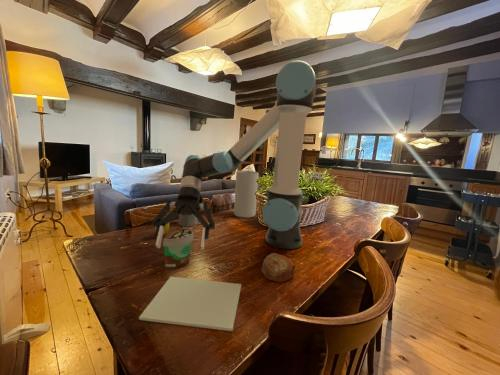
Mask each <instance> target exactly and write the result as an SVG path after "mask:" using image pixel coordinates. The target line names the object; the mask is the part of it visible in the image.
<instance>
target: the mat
mask: <svg viewBox="0 0 500 375" xmlns="http://www.w3.org/2000/svg"><path fill="white" fill-rule="evenodd" d="M241 288H242V283H233V282H225V281H224V282H223V281H214V280H206V279H197V278H187V277H179V276H170V277H169V278H168V279H167V280H166V282H165V283H164V284H163V285H162V287H161V288H160V290H159V291H158V292H157V294H156V295H155V296H154V297H153V298H152V299H151V301H150V302H149V303H148V305H147V306H146V307H145V309H144V310H143V312H142V313H141V314H140V316H138V320H140V321H144V322H145V321H147V322H152V323H153V322H154V323H163V324H171V325H178V326H187V327H195V328H202V329H211V330H219V331H228V332H233V330H234V326H235V321H236V316H237V315H236V314H237V311H238V310H237V309H238V306H239V300H240V296H241Z"/></svg>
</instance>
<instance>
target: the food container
mask: <svg viewBox="0 0 500 375" xmlns="http://www.w3.org/2000/svg"><path fill="white" fill-rule="evenodd" d="M194 239H195V236H194V232H193V230H192V228H190V227H188V226H182V229H181V230H180V231H178V232H176V233H174V234H173V235H171V236H170V237H169V238H163V242H162V246H163V247H164V267H165V269H166V270H177V269H181V268H184V267H186V266H188V264H190V259H191V250H192V249H191V248H192V242H193V241H194Z"/></svg>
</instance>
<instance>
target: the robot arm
mask: <svg viewBox="0 0 500 375" xmlns="http://www.w3.org/2000/svg"><path fill="white" fill-rule="evenodd" d="M316 80H317V76H316V74H315V71H314V69H313V67H312V66H311V65H310V64H309V63H307V62H306V61H303V60H293V61H290V62H287V63H286V64H285V65H284V66H283V67H282V68H280V69H279V72H278V73H277V76H276V78H275V85H276V86H275V87H276V91H277V97H276V98H277V99H276V100H275V104H274V106H272V108H270V109H269V111H267V112H266V113H265V114H264V115H263V116H262V117H261V118H260V119H259V120H258V121H257V122H256V123H255V124H254V125H253V126H252V127H251V128H250V129H249V130H247V132H246V133H245V134H244V135H243V136H242V137H241V138H239V140H237V141H236V142H235V143H234V144H233V145H232V146H231V148H229V150H227V151H226V150H225V151H220V152H216V153H213V154H211V155H208V156H205V157H202V156H200V155H196V154H195V155H194V154H192V155H191V154H190V155H188V156H187V157H186V159H185V161H184V164H183V169H182V176H181V179H180V184H179V190H178V193H177V198H176V201H171V199H168V200H167V201H166V203H165V205H164V206H163V208H162V209H161V210H160V211H159V213H158V214H157V215H155V217H154V218H153V220H151V224H152V226H153V227H154V228H155V227H157V228H156V230H155V233H154V236H155V237H156V241H155V247H156V249H161V247H162V240H163V236H164V235H163V232H164V228H163V227H164V226H165V225H166V224H167V223H169V224H170V222H171V221H172V220H174V219H175V218H176V217H179V215H180V214H182V215H192V214H193V215H194V216H195V217H196V218H197V221H198V223H200V224H201V225H202V232H201V233H202V234H201V242H200V243H201V244H200V250H203V251H204V249H205V248H204V247H205V241H206V240H208V239H209V237H210V236H209V235H210V230H215V228H216V224H215V222H214V219H213V217H212V215H211V213H210V210H209V209H208V202H206V201H204V202H202V203H201V204H199V198H200V194H201V188H202V182H203V179H205V178H208V177H212V176H215V175H220V174H225V173H232V172H235V171H238V169H239V167H240V165H241V164H242V163H243V162H244V161H245V160H247V158H248V157H249V156H250V155H251V154H253V153H254V152H255V151H256V150H257V149H258V148H259V147H260V146H261V145H262V144H264V142H266V141H267V140H268V139H269V138H271V136H272V135H273V134H274V133H275V132H276V131H277V130H278V131H277V133H278V134H277V142H276V151H275V159H274V167H273V168H274V170H273V179H272V185H270V186H269V187H268V189H267V196H266V203H265V205H264V206H263V210H262V218H263V220H264V222H265V224H266V225H267V226H268V230H267V232H266V234H265V242H266V243H267V244H268V245H269V246H272V247H275V248H278V249H285V250H294V249H297V248H298V249H299V248H301V246H302V245H303V236H302V233H301V232H302V231H301V227H300V224H301V223H300V222H301V214H302V207H303V206H302V205H303V198H304V194H303V193H304V192H303V190H302V189H300V188H298V186H299V180H300V179H299V178H300V172H301V171H300V169H301V162H302V153H303V146H304V140H305V129H306V121H307V116H308V114H310V113H311V112H312V110H313V106H314V105H313V104H314V99H315V96H316V92H317V89H316V88H317V85H316V83H317V82H316ZM173 207H175V208H174V209H173ZM199 207H200V209H201V210H203V212H204V214H205V218H206V219H207V221H208V222H207V221H206V220H205V218H204V217H203V216H202V215H201V213H200V212H199V211H198V209H199ZM171 209H173V210H172V211H170V210H171ZM169 212H170V213H169Z"/></svg>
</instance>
